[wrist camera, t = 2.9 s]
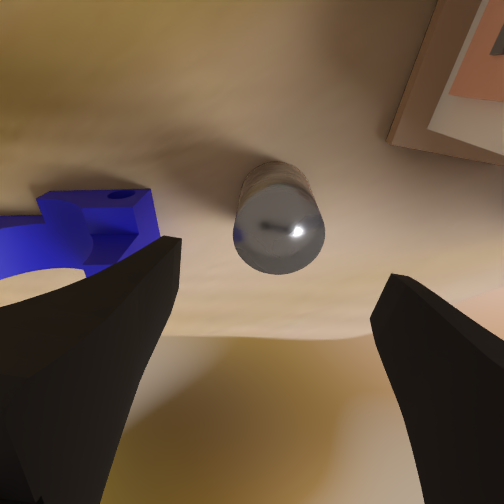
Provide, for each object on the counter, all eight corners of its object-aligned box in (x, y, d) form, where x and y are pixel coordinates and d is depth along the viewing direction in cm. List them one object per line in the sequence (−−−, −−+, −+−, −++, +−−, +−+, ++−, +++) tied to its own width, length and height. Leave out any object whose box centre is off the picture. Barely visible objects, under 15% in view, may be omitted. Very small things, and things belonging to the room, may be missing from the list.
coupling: (318, 168, 17) (337, 201, 13) (300, 233, 19) (311, 280, 15) (246, 155, 17) (240, 184, 13) (236, 222, 19) (227, 267, 15)
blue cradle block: (151, 187, 18) (106, 233, 13) (165, 254, 20) (130, 316, 15) (-45, 192, 19) (-164, 237, 14) (-11, 256, 21) (-102, 317, 16)
